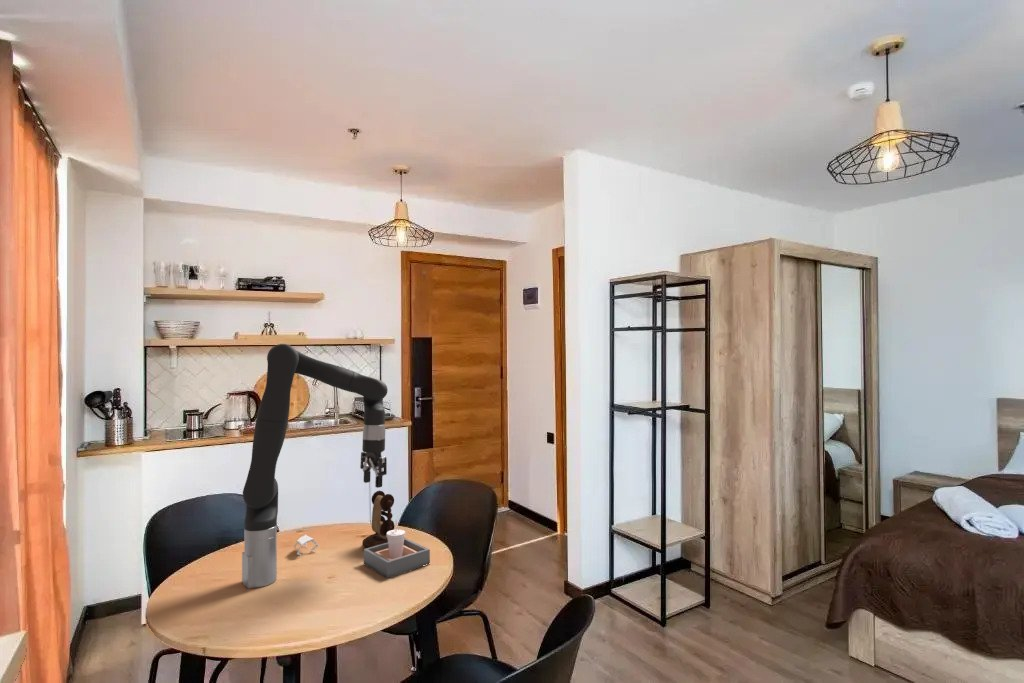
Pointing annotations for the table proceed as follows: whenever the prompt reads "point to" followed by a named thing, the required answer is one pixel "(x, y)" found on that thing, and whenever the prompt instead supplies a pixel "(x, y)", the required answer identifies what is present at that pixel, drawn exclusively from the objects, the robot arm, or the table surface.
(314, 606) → the table surface
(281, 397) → the robot arm
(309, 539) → the origami figure
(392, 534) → the smoothie
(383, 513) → the scroll
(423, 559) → the socket box
